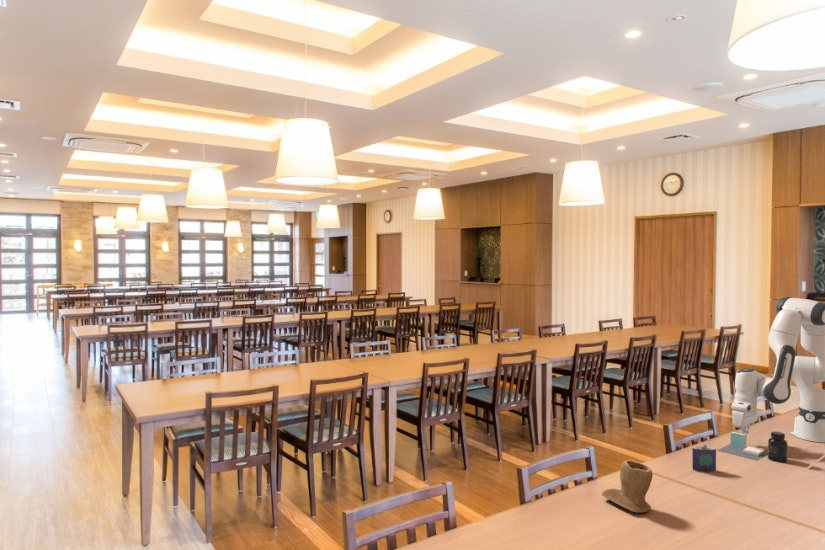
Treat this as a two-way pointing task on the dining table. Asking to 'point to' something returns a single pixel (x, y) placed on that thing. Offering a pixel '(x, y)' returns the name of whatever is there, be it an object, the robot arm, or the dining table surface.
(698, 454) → the flask
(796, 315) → the robot arm
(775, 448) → the supplement bottle
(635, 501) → the brown boot
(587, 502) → the dining table surface
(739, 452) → the mat
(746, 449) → the tile
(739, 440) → the tile
